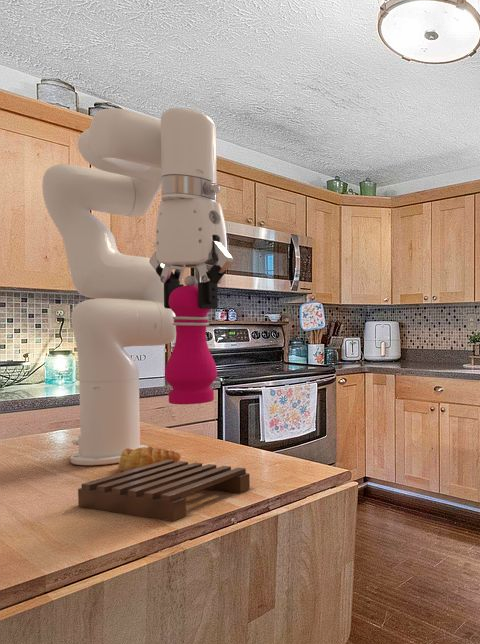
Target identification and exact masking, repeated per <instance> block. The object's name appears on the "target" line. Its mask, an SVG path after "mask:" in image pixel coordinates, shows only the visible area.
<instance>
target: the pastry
mask: <svg viewBox="0 0 480 644" xmlns="http://www.w3.org/2000/svg"><path fill="white" fill-rule="evenodd" d="M164 460H174V463H176V462H179V461H181V453H179V452H177V451H175V450H168V449H164V448H158V447H154V448H153V447H151V446H148V447H147V448H137V449H134V450H132V449H124V450H123V451H122V454H121V457H120V461H119V463H118V466H117V470H119V471H121V472H125V471H129V470H132V469H136V468H139V467H143V466H146V465H150V464H153V463H157V462H160V461H164Z"/></svg>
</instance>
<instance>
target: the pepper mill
mask: <svg viewBox="0 0 480 644" xmlns="http://www.w3.org/2000/svg"><path fill="white" fill-rule="evenodd" d="M183 283H184V286H181V287H178V288H176V289H174V290H173V291H172V292H171V294H170V296H169V306H170V308H171V310H172V311H173V312H174V313H175V315H176V317H173V319H174V323H173V325H175V326H176V337H175V342H174V347H173V349H172V352H171V353H170V356H169V358H168V360H167V363H166V365H165V370H164V379H165V382H167V384H168V385H169V386H171V388H172V389H171V390H169V391H168V403H169V404H171V405H198V404H200V405H201V404H206V403H207V404H208V403H211V402H214V400H215V390H214V389H213V388H211V386H212V385H213V383H214V382H215V380H217V378H218V369H217V364H216V362H215V360H214V357H213V355H212V353H211V351H210V349H209V345H208V341H207V326H210V323H209V320H210V317H208V314H209V312H210V311H211V310H212V309H201V308H199V307H198V279H197V278H196V277H195V276H193V275H187V276H186V277H185V278H184V281H183Z"/></svg>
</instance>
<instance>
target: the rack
mask: <svg viewBox="0 0 480 644" xmlns="http://www.w3.org/2000/svg"><path fill="white" fill-rule="evenodd" d="M250 478H251V477H250V473H249V472H247V468H245V467H235V468H232V466H229V465H221V466H218V467H217V464H212V463H208V464H205V465H203V463H201V462H192V463H189V461H185V460H180V461H179V462H176V463H174V460H164V461H160V462H157V463H153V464H150V465H146V466H143V467H139V468H136V469H132V470H129V471H121V472H118V473H115V474H111V475H108V476H104V477H101V478H97V479H94V480H90V481H87V482H83V483H81V484H80V485H81V486H80V488H77V502H78V503H77V505H78V507H81V508H88V509H93V510H100V511H105V512H106V511H107V512H112V513H119V514H125V515H132V516H138V517H145V518H151V519H157V520H163V521H170V522H175V521H177V520H180V519H182V518H185V517H186V516H187V498H186V496H188V495H191V494H194V493H196V492H199V491H202V490H204V489H206V490H213V491H215V490H216V491H223V492H229V493H238V494H241V493H244V492H246V491H249V490H250V484H251V483H250V481H251V480H250Z"/></svg>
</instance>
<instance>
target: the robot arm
mask: <svg viewBox="0 0 480 644" xmlns="http://www.w3.org/2000/svg"><path fill="white" fill-rule="evenodd" d="M216 127H217V126H216V124H215V122H214V120H213V119H212V118H211V117H210V116H208V115H207V114H205V113H203V112H201V111H199V110H194V109H191V108H187V107H186V108H185V107H170V108H167V109H165V110H164V111H163V112H162V113H161V116H160V119H158V118H155V117H151V116H149V115H146V114H142V113H139V112H135V111H132V110H128V109H125V108H118V107H109V108H104V109H103V108H102V109H100V110H97V112H96V113H95V114H94V115H93V117H92V119H91V122H90V125H89V128H86V129H85V130H84V131H82V132H81V134H80V135H79V137H78V138H77V139H78V140H77V149H78V151H79V154H80V155H81V157H82V158H83V159H84V160H85V162H87V163H88V165H91V166H92V167H94V168H92V167H88V166H82V165H76V164H67V163H66V164H65V163H64V164H55V165H51V166H50V167H48V168H47V169H46V170H45V172H44V173H43V176H42V183H41V185H42V186H41V187H42V196H43V201H44V205H45V208H46V210H47V212H48V215H49V217H50V218H51V221H52V223H53V224H54V225H55V227H56V229H57V230H58V232H59V234H60V236H61V237H62V242H63V244H64V251H65V254H66V260H67V263H68V268H69V273H70V276H71V281H72V284H73V286H74V289H75V290H76V291H77V293H78V294H80V295H81V296H83V297H86V298H90V299H86V300H82V301H80V302H79V303H77V304H76V305H75V307H74V308H73V309H72V312H71V319H70V320H71V327H72V332H73V336H74V339H75V346H76V353H77V362H78V381H79V383H78V384H79V385H78V387H79V428H80V431H79V432H80V434H79V435H78V438H77V437H75V438H73V439H72V441H71V444H72V445H73V446H78V452H75V453H73V454H72V455H71V456H70V463H71V464H72V465H76V466H102V465H103V466H104V465H111V464H112V465H113V464H119V461H120V457H121V454H122V451H123V450H124V449H132V450H134V449H137V448H147V447H149V446H148V445H145V444H141V416H140V415H141V411H140V372H139V366H138V365H137V363H136V361H135V360H134V358H132V356H130V354H128V353H127V351H126V350H125V348H130V347H154V346H164V345H168V344H170V343H171V342H173V341H174V340H176V326H175V325H173V323H174V319H173V317H176V315H175V313H174V312H173V311H172V310H171V308H170V306H169V296H170V294H171V292H172V291H173V290H174V289H176V288H178V287H181V286H185V284H183V283H182V284H181V282H182V278H183V276H184V272H185V269H187V268H188V269H191V268H192V269H194V268H195V269H197V271H198V273H199V276H200V280H201V282H199V281H197V287H198V307H199V308H201V309H211V310H217V309H218V307H219V303H218V302H219V295H218V293H219V292H218V287H219V284H221V283H222V278H223V276H224V275H225V274H226V273H227V270H228V269H229V268H230V267H231V265H232V264H233V263H234V257H233V256H232V255H231V254H230V253H229V251H228V237H227V229H226V222H225V221H226V220H225V216H224V211H223V208H222V204H221V203H219V202H218V193H220V191H221V189H220V186H219V184H218V181H217V180H218V178H217V177H218V176H217V175H218V174H217V173H218V172H217V171H218V170H217V166H218V165H217V164H218V163H217V128H216ZM160 189H161V201H159V206H158V212H157V217H156V218H157V219H156V220H157V221H156V228H155V252H154V253H153V254H152V256H151V257H147V256H139V255H132V254H131V255H129V254H124V253H121V252H120V251H119V249H118V247H117V241H116V238H115V235H114V234H113V233H112V230H110V229H109V227H108V226H107V225H106V224H105V223H104V222H103V221H102V220H100V219H99V218H98V217H96V216H95V215H94V214H93V213H91V211H94V212H100V213H106V214H110V215H111V214H112V215H117V216H125V217H131V218H132V217H135V218H136V217H142V216H144V215H145V214H146V213H147V212H148V211H149V209H150V208H151V206H152V205H153V202H154V200H155V199H156V197H157V194H158V193H159V191H160ZM173 270H174V272H173Z"/></svg>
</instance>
